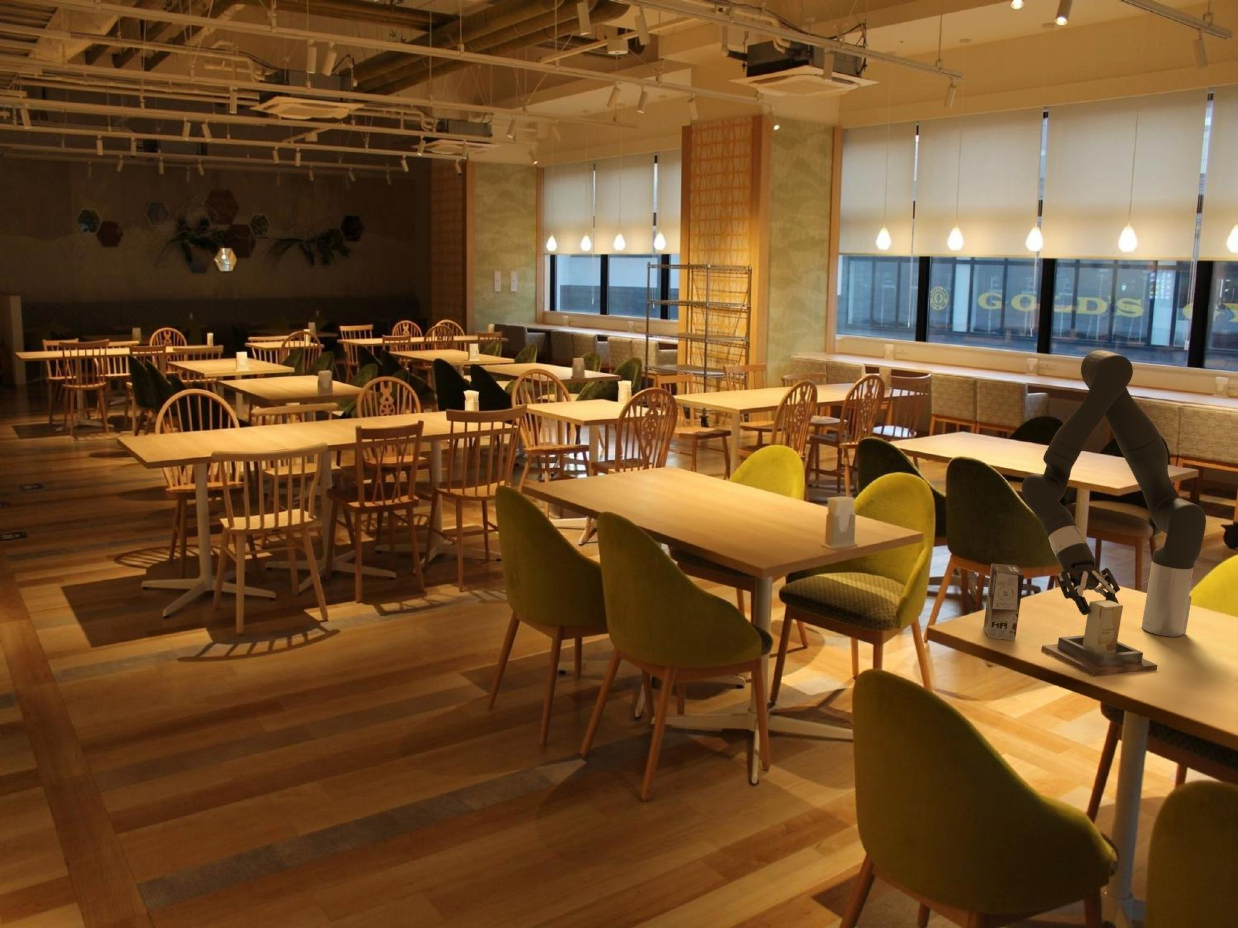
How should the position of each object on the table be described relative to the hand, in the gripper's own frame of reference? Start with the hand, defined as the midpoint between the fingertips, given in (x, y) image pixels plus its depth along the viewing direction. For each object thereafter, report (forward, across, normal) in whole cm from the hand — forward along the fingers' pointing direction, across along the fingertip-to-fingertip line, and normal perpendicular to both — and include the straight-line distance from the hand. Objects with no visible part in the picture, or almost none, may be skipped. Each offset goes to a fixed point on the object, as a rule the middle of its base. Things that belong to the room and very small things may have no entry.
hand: (1102, 612), depth 242 cm
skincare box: (+8, 0, +6) cm, 10 cm away
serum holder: (+8, 0, +7) cm, 11 cm away
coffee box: (-6, -11, +21) cm, 25 cm away
